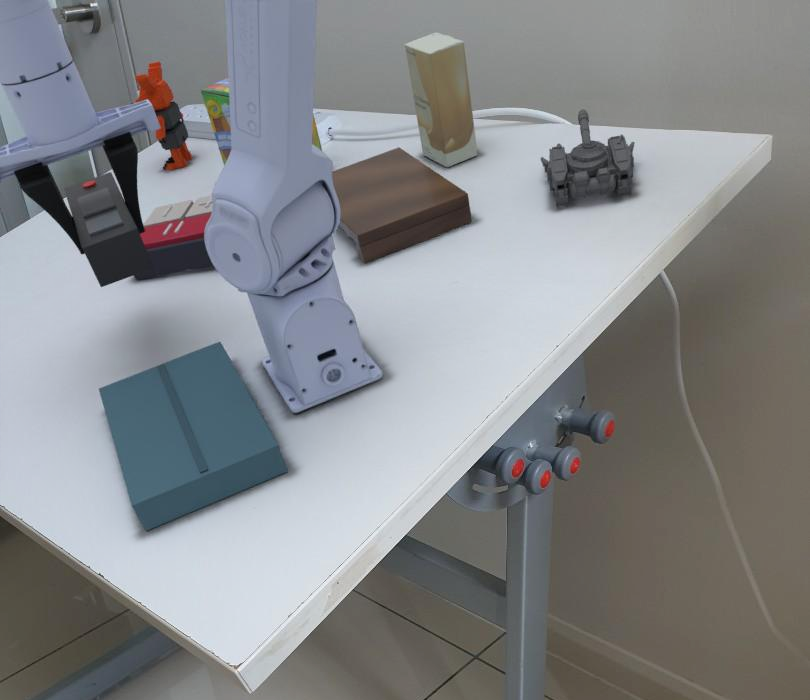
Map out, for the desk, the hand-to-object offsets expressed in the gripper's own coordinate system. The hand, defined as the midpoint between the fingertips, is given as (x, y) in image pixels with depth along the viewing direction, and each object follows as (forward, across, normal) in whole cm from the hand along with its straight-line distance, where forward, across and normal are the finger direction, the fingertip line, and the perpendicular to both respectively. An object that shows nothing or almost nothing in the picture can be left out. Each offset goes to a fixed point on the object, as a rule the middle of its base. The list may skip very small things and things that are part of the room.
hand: (112, 239), depth 76 cm
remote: (0, 0, 0) cm, 1 cm away
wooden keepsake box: (+10, -27, -9) cm, 31 cm away
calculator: (+11, -9, -17) cm, 22 cm away
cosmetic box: (+11, -39, -18) cm, 44 cm away
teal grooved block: (+10, 0, +18) cm, 21 cm away
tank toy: (+11, -46, +1) cm, 48 cm away
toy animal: (+10, -11, -49) cm, 51 cm away
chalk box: (+11, -21, -30) cm, 38 cm away
